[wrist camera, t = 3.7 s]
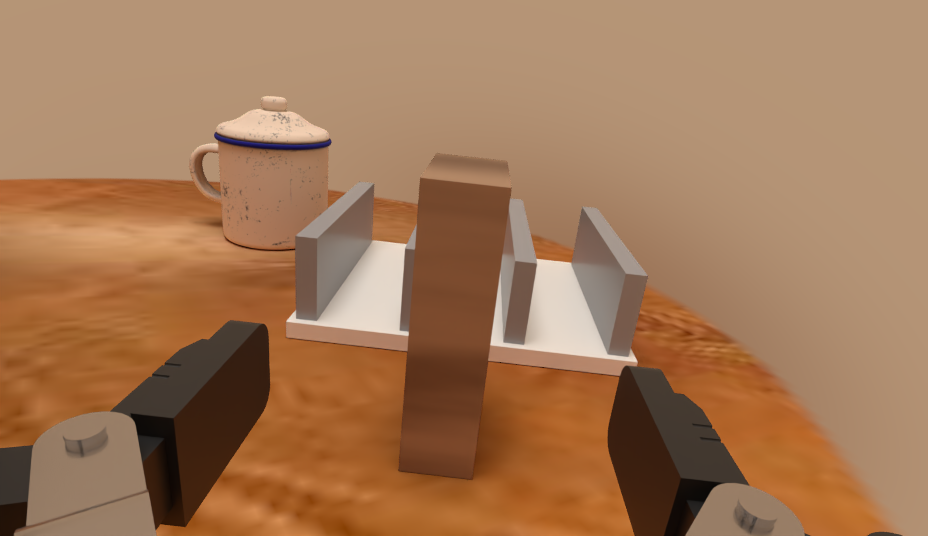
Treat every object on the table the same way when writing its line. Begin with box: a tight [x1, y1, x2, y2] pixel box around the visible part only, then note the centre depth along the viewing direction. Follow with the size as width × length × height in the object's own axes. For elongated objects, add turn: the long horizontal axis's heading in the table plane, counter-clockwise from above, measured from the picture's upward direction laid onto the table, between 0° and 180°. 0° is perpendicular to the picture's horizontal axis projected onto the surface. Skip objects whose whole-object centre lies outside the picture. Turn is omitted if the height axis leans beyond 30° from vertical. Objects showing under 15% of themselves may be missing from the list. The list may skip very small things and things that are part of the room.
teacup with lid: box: [189, 96, 331, 250], centre depth 45 cm, size 12×9×12 cm
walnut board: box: [399, 153, 512, 479], centre depth 22 cm, size 6×3×12 cm, turn 177°
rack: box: [286, 182, 648, 376], centre depth 37 cm, size 16×20×6 cm
